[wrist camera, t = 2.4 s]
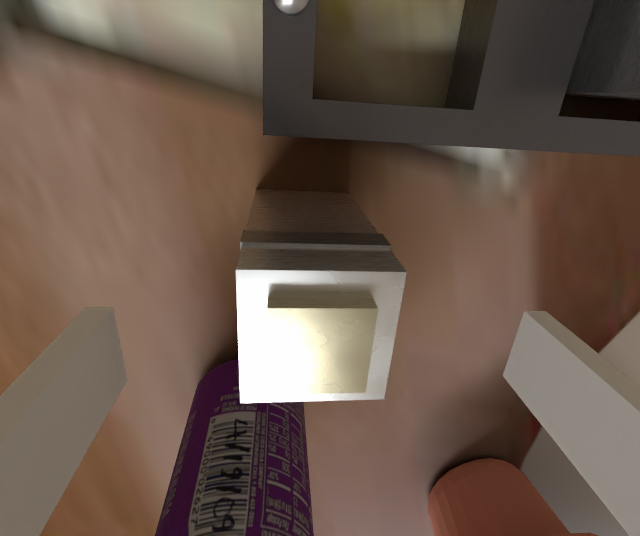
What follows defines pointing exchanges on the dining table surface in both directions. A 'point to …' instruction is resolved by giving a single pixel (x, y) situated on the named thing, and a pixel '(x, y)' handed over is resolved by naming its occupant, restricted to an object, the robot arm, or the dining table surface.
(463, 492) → the decorative flower
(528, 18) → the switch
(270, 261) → the block
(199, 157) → the dining table surface
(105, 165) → the dining table surface
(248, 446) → the beverage can
